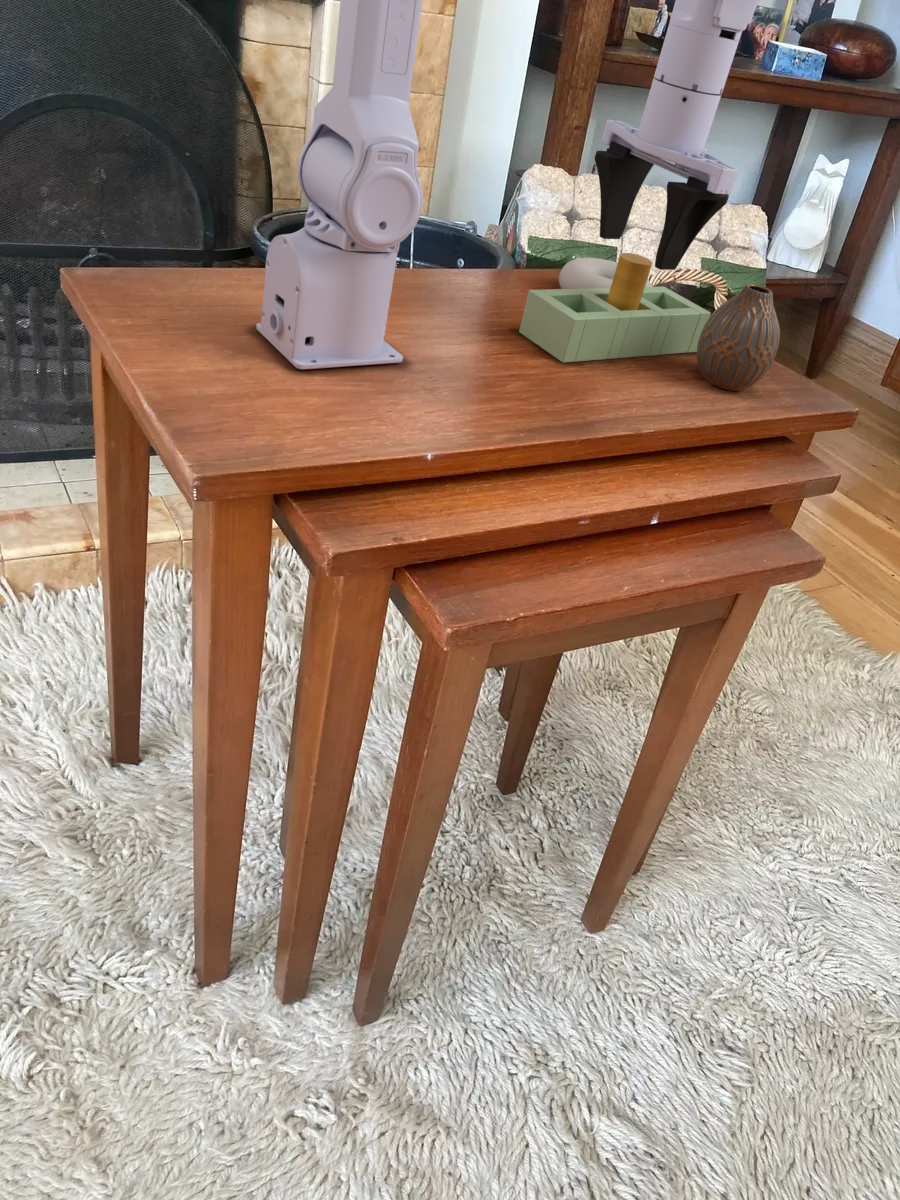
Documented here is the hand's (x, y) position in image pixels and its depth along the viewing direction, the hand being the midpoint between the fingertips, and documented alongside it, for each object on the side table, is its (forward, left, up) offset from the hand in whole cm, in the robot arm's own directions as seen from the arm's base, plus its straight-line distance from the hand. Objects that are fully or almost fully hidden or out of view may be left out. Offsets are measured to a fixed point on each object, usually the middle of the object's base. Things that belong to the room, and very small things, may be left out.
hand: (636, 252), depth 87 cm
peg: (0, 0, -9) cm, 9 cm away
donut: (+7, +9, -9) cm, 15 cm away
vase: (+6, -10, -9) cm, 14 cm away
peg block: (0, 0, -9) cm, 9 cm away
